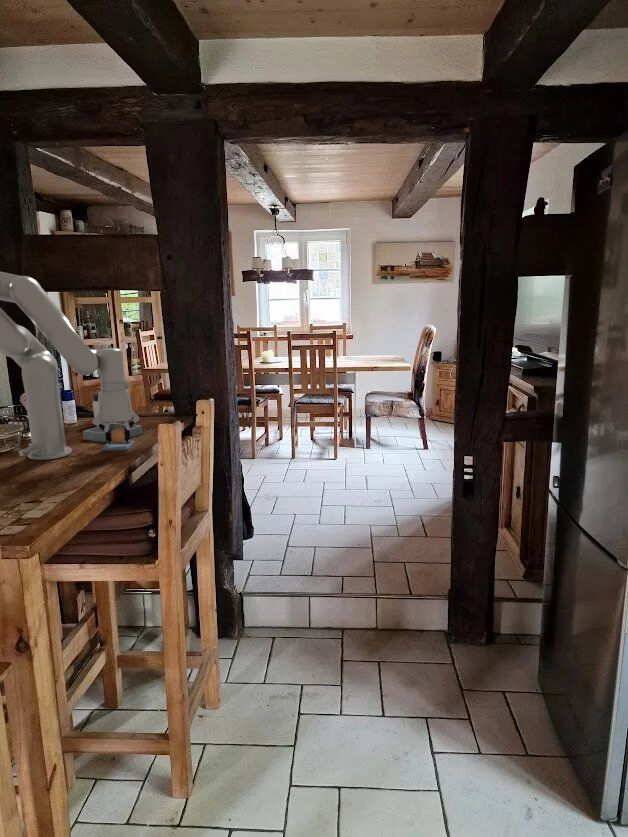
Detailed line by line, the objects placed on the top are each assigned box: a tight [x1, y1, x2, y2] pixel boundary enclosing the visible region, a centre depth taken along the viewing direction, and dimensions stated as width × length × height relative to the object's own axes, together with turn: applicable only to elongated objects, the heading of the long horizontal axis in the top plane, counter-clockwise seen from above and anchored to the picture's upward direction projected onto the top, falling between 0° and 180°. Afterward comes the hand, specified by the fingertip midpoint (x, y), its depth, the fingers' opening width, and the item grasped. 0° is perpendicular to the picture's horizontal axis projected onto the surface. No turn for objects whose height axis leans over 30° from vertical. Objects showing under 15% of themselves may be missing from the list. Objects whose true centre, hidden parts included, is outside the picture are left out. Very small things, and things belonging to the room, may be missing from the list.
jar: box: [91, 391, 118, 425], centre depth 218 cm, size 9×8×12 cm
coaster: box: [102, 440, 136, 452], centre depth 183 cm, size 8×8×1 cm
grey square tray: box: [82, 422, 144, 443], centre depth 197 cm, size 14×14×3 cm
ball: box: [110, 429, 126, 444], centre depth 182 cm, size 5×5×5 cm
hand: (118, 441), depth 182 cm, fingers closed on ball, 4 cm apart
